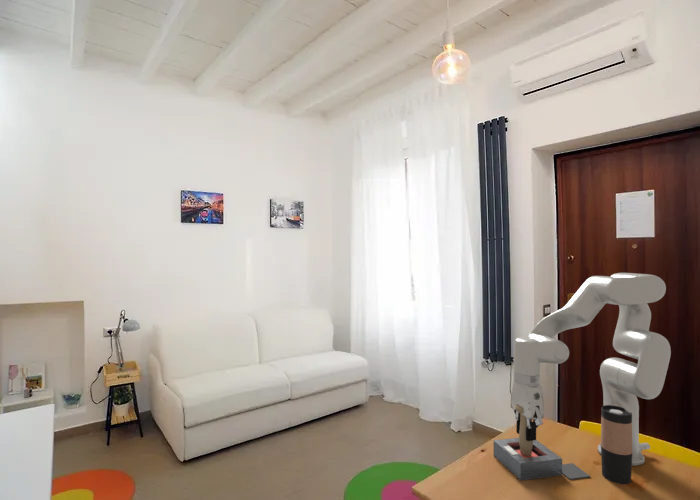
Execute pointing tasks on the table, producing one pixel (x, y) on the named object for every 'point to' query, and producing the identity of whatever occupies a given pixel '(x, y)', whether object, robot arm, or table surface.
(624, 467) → the travel mug
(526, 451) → the handle
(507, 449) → the grey shallow box
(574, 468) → the mat
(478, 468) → the table surface
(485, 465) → the table surface
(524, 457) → the button
